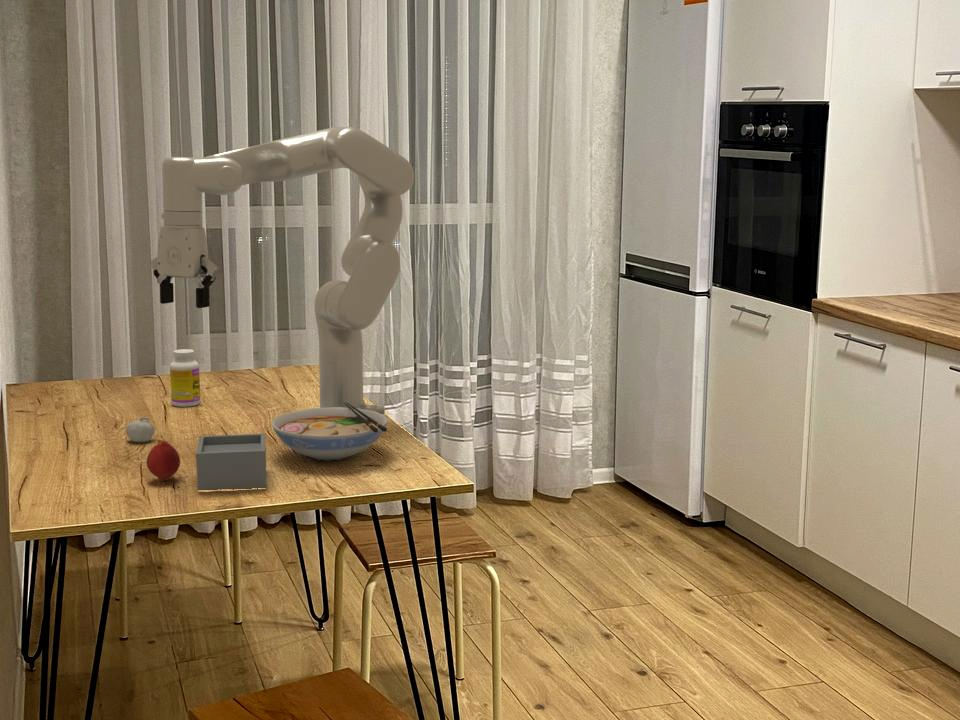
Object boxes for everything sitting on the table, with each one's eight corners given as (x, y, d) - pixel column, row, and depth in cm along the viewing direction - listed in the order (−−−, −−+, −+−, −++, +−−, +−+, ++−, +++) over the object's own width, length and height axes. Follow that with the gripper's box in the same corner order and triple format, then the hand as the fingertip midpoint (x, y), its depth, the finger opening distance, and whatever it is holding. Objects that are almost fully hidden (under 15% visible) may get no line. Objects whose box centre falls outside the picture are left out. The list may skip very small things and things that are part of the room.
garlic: (161, 439, 235) (160, 415, 234) (147, 445, 230) (145, 421, 229) (135, 437, 237) (134, 413, 236) (121, 443, 231) (119, 419, 230)
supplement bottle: (196, 407, 262) (193, 353, 259) (168, 407, 262) (165, 353, 260) (203, 401, 268) (201, 348, 266) (176, 400, 269) (173, 348, 266)
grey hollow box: (266, 471, 213) (265, 433, 212) (266, 491, 202) (265, 450, 200) (201, 474, 211) (199, 436, 210) (197, 494, 200) (196, 453, 198)
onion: (168, 474, 211) (166, 432, 209) (187, 480, 207) (185, 438, 205) (141, 481, 206) (139, 439, 205) (160, 487, 203) (158, 444, 201)
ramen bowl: (261, 445, 230) (260, 406, 229) (370, 436, 238) (369, 398, 237) (285, 480, 207) (284, 437, 206) (404, 468, 215) (403, 426, 214)
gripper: (137, 218, 224) (139, 303, 228) (202, 223, 216) (204, 311, 219) (164, 216, 231) (166, 299, 234) (229, 221, 223) (230, 307, 226)
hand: (184, 305), depth 227 cm, fingers open, 9 cm apart
